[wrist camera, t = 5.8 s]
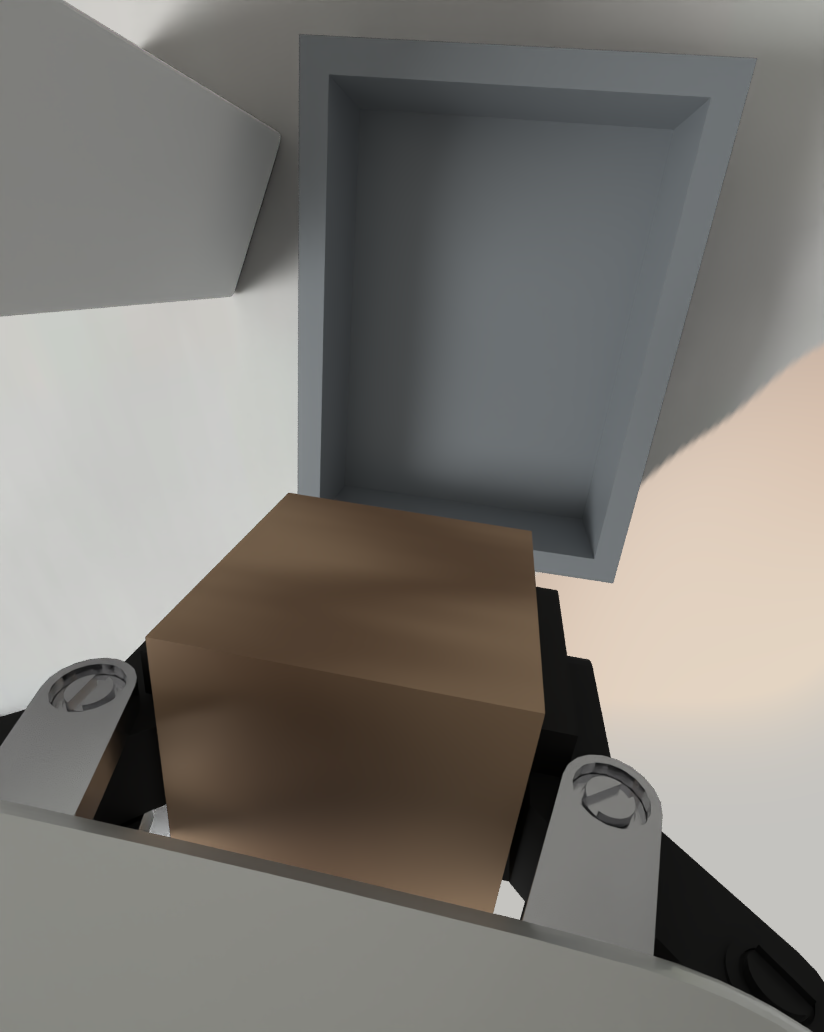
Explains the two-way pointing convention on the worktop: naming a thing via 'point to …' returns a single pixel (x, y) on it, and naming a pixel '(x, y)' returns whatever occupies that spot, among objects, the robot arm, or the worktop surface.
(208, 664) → the walnut cube
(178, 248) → the milk carton
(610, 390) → the tote
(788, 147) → the worktop surface
